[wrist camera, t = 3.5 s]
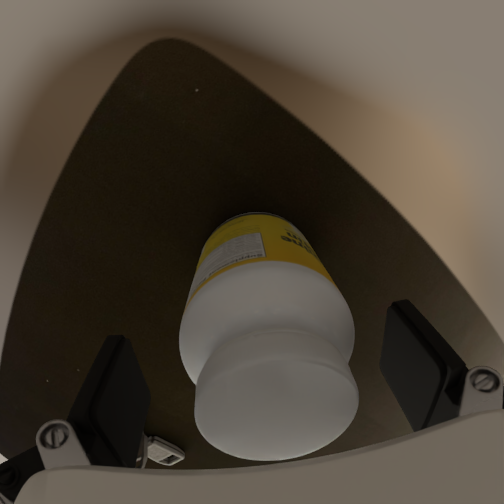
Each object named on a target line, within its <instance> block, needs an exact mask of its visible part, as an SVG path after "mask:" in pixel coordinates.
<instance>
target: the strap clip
mask: <svg viewBox="0 0 504 504" xmlns="http://www.w3.org/2000/svg"><path fill="white" fill-rule="evenodd" d="M143 433H144V432H143ZM143 433H142V438H141V442H140V447H139V451H138V456H137V461H139V460H141V462H140V466H138V467H136V468H138V469H144V467H145V464H146V461H147V457H149V458H150V459H152V460H154V461H156V462H158V463H161V464H164V465H172V464H175V463H177V462H179V461H180V460H182V459H184V457H185V453H184V452H183V451H182V450H181V449H180V448H178V447H177V446H175V445H173V444H171V443H169V442H167V441H165V440H163V439H161V438H159V437H157V436H154V437H152V436H150V437H149V438H148V437H147V436H145V435H146V434H143ZM172 454H173V455H175V456H174V457H173V458H170V459H169V458H167V457H168V456H170V455H172ZM137 461H136V462H137Z"/></svg>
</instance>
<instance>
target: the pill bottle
mask: <svg viewBox="0 0 504 504" xmlns="http://www.w3.org/2000/svg"><path fill="white" fill-rule="evenodd" d="M354 337H355V331H354V322H353V318H352V315H351V312H350V309H349V307H348V305H347V303H346V301H345V299H344V298H343V296H342V294H341V293H340V291H339V289H338V288H337V286H336V285H335V283H334V282H333V280H332V279H331V277H330V275H329V274H328V272H327V271H326V269H325V268H324V266H323V264H322V263H321V261H320V260H319V258H318V257H317V255H316V253H315V252H314V250H313V249H312V247H311V246H310V244H309V243H308V241H307V240H306V238H305V237H304V235H303V234H302V233H301V232H300V230H299V229H298V228H297V227H296V226H294V225H293V224H292V223H291V222H289V221H287V220H286V219H284V218H282V217H280V216H277V215H274V214H270V213H265V212H250V213H245V214H240V215H237V216H235V217H233V218H230V219H229V220H227V221H225V222H224V223H222V224H221V225H220V226H218V227H217V228H216V229H215V230H214V231H213V233H212V234H211V235H210V236H209V238H208V239H207V241H206V243H205V245H204V247H203V249H202V252H201V255H200V259H199V262H198V266H197V269H196V272H195V276H194V279H193V282H192V286H191V289H190V293H189V296H188V300H187V303H186V307H185V310H184V314H183V318H182V322H181V327H180V334H179V347H180V354H181V358H182V362H183V364H184V367H185V369H186V371H187V373H188V375H189V376H190V378H191V380H192V381H193V382H194V383H195V385H196V398H195V412H194V413H195V421H196V424H197V427H198V429H199V431H200V433H201V434H202V435H203V436H204V438H205V439H206V440H207V441H208V442H209V443H210V444H212V445H213V446H215V447H216V448H218V449H220V450H221V451H223V452H225V453H228V454H230V455H233V456H236V457H239V458H245V459H251V460H262V461H268V460H284V459H290V458H295V457H299V456H302V455H305V454H308V453H311V452H314V451H316V450H318V449H320V448H322V447H324V446H326V445H327V444H329V443H330V442H332V441H333V440H335V439H336V438H337V437H338V436H340V435H341V434H342V433H343V432H344V431H345V430H346V429H347V427H348V426H349V425H350V423H351V422H352V420H353V418H354V417H355V414H356V411H357V408H358V404H359V393H358V388H357V385H356V382H355V380H354V378H353V376H352V373H351V371H350V368H349V366H348V362H349V360H350V357H351V354H352V351H353V346H354Z"/></svg>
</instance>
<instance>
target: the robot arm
mask: <svg viewBox="0 0 504 504" xmlns="http://www.w3.org/2000/svg"><path fill="white" fill-rule="evenodd" d="M465 365H466V364H465V363H464V361H463V360H462V359H461V358H460V357H459V356H458V354H457V353H456V352H455V351H454V350H453V349H452V347H451V346H450V345H449V344H448V343H447V342H446V341H445V339H444V338H443V337H442V336H441V335H440V334H439V333H438V332H437V330H436V329H435V328H434V327H433V326H432V325H431V324H430V323H429V322H428V320H427V319H426V318H425V317H424V316H423V315H422V314H421V313H420V312H419V311H418V310H417V309H416V307H415V306H414V305H413V304H412V303H411V302H410V301H409V300H407V299H405V300H400V301H395V302H393V303H392V304H391V306H390V307H388V309H387V316H386V324H385V332H384V339H383V345H382V352H381V358H380V369H381V372H382V374H383V375H384V377H385V379H386V381H387V383H388V384H389V386H390V388H391V390H392V392H393V393H394V395H395V397H396V399H397V401H398V403H399V404H400V406H401V408H402V410H403V412H404V414H405V415H406V417H407V419H408V421H409V423H410V425H411V427H412V429H413V431H414V433H410V434H407V435H404V436H401V437H398V438H394V439H391V440H388V441H384V442H381V443H377V444H374V445H370V446H366V447H362V448H358V449H354V450H350V451H346V452H341V453H337V454H332V455H327V456H322V457H317V458H312V459H306V460H300V461H294V462H287V463H280V464H272V465H263V466H253V467H242V468H228V469H207V470H163V469H138V468H135V465H136V461H137V456H138V451H139V447H140V442H141V438H142V433H143V429H144V425H145V421H146V416H147V412H148V408H149V404H150V399H151V396H150V391H149V388H148V386H147V384H146V381H145V379H144V376H143V374H142V371H141V369H140V366H139V364H138V361H137V358H136V356H135V353H134V351H133V348H132V345H131V342H130V340H129V339H125V337H124V336H123V335H109V336H107V338H106V340H105V341H104V343H103V345H102V347H101V349H100V351H99V353H98V355H97V357H96V359H95V361H94V363H93V365H92V367H91V369H90V371H89V373H88V375H87V377H86V379H85V381H84V383H83V385H82V387H81V389H80V391H79V393H78V395H77V398H76V400H75V402H74V404H73V406H72V408H71V411H70V413H69V416H68V418H67V420H66V421H65V420H61V419H56V420H52V421H49V422H47V423H45V424H44V425H43V426H42V427H41V428H40V429H39V431H38V432H37V435H36V443H37V445H36V446H35V447H33V448H31V449H29V450H27V451H25V452H23V453H21V454H19V455H17V456H15V457H13V458H11V459H9V460H8V461H5V462H3V463H2V464H0V504H504V386H503V378H502V377H501V375H500V374H499V373H498V372H497V371H496V370H495V369H493V368H491V367H487V366H476V367H473V368H471V369H470V370H468V368H467V367H466V366H465Z"/></svg>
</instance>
